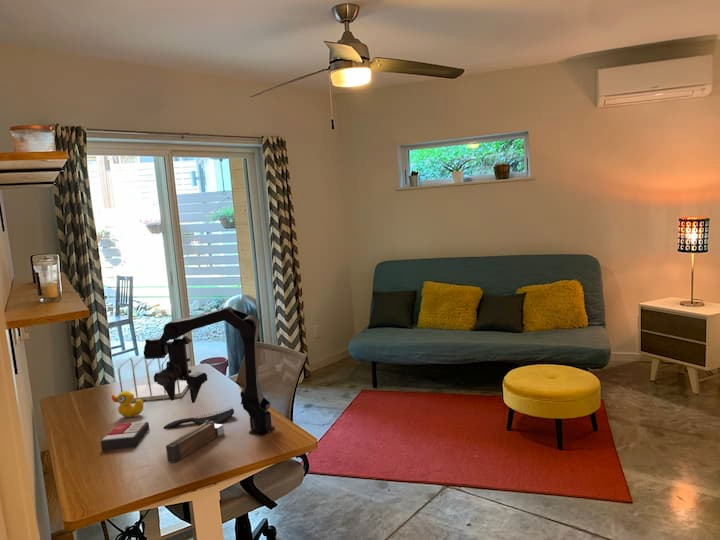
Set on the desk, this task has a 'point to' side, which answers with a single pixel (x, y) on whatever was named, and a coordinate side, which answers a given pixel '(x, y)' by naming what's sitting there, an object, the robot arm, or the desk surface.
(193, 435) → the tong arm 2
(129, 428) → the calculator
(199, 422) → the hairbrush
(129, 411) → the duckling
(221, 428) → the tong hinge block
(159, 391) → the file sorter
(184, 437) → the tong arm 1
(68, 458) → the desk surface
